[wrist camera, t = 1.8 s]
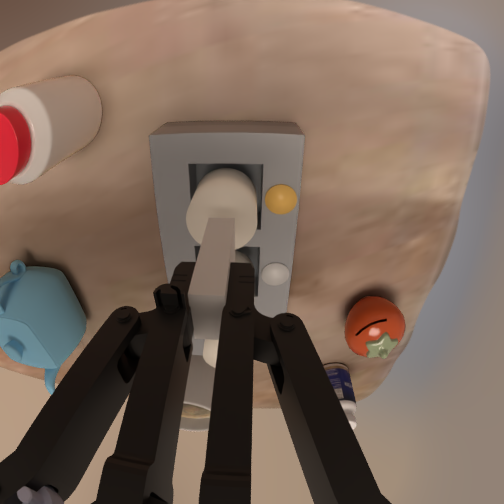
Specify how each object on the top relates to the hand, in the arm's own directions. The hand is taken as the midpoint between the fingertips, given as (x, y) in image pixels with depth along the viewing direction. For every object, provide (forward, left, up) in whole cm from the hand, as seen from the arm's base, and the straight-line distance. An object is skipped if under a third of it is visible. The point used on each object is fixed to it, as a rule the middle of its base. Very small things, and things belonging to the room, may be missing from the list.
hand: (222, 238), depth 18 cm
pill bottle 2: (+14, -30, -11) cm, 35 cm away
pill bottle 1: (-16, +7, -11) cm, 21 cm away
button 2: (0, 0, -6) cm, 6 cm away
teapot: (-26, -17, -11) cm, 33 cm away
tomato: (+16, -16, -11) cm, 25 cm away
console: (0, -7, -11) cm, 13 cm away
